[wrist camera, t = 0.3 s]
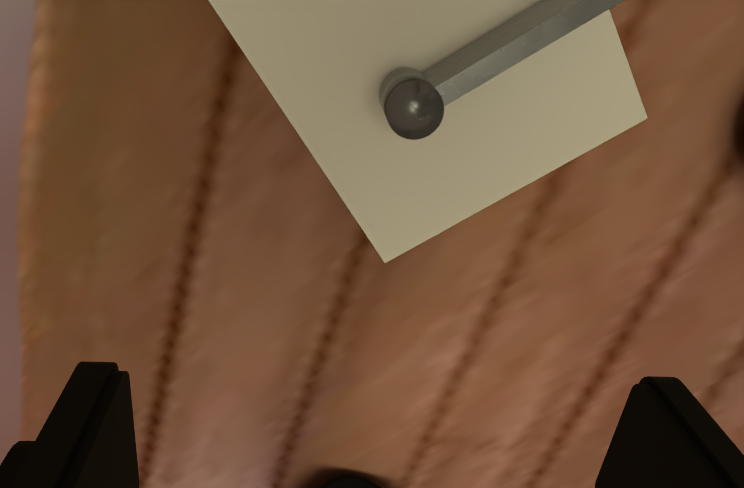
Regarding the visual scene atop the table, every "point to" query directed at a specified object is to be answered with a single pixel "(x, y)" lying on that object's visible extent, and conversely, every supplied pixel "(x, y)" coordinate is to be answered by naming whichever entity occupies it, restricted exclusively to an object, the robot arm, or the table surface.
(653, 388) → the robot arm
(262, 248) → the table surface
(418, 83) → the grey rectangular bar
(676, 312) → the table surface
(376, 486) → the portable speaker
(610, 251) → the table surface
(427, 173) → the dial board
